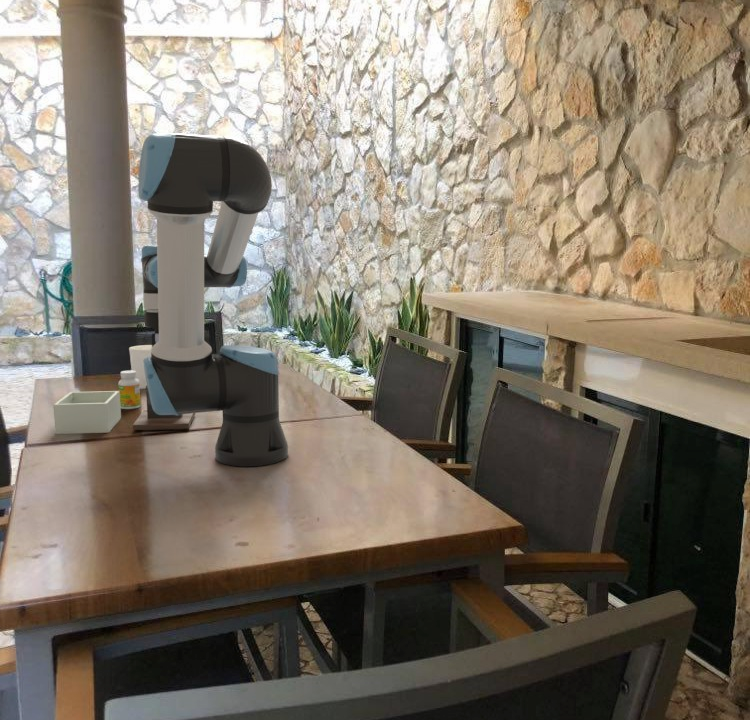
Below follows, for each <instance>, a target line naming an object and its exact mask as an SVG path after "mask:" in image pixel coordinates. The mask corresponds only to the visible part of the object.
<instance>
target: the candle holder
mask: <svg viewBox="0 0 750 720" xmlns="http://www.w3.org/2000/svg"><path fill="white" fill-rule="evenodd" d="M151 348H152V344H143V345H142V344H141V345H134V346H130V347H129V348H128V351H129V358H130V366H131V367H130V370H132V371H136V379H138V380H139V384H140V390H146V386H147V382H146V377H145V371H144V362H143V360H144V359H145V358H147V357H151Z"/></svg>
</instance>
